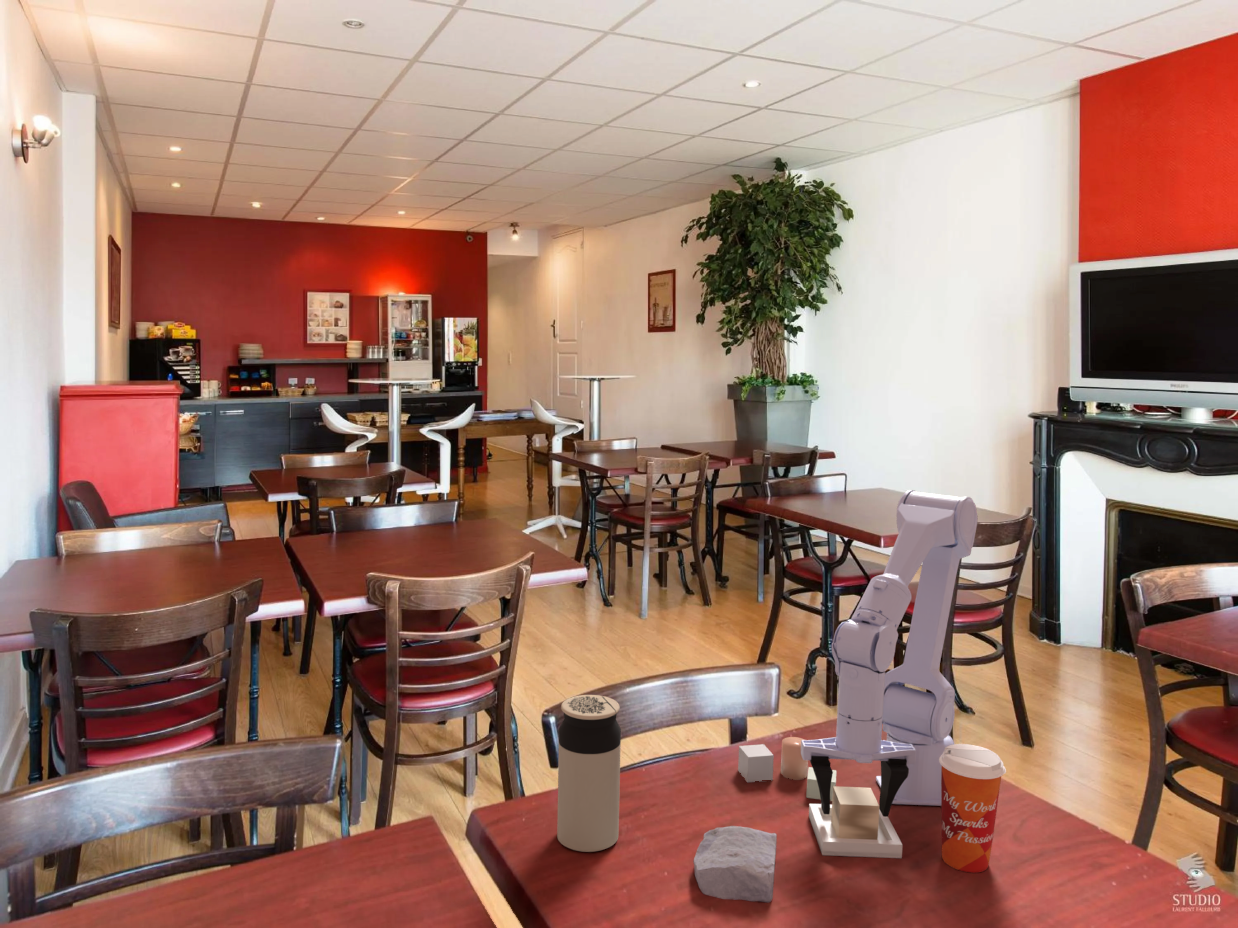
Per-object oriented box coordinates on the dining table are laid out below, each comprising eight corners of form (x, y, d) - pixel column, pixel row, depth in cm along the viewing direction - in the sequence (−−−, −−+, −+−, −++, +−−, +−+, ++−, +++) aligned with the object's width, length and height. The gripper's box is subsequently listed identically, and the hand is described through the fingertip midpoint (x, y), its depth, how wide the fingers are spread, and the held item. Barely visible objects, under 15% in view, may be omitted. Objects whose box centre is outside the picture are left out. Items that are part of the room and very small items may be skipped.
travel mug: (561, 856, 114) (564, 718, 112) (553, 824, 122) (555, 695, 120) (624, 851, 116) (627, 714, 114) (611, 820, 123) (614, 691, 121)
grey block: (762, 768, 140) (763, 744, 140) (772, 780, 136) (773, 755, 136) (738, 770, 139) (739, 745, 139) (747, 782, 136) (748, 757, 135)
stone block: (694, 911, 107) (780, 906, 105) (687, 871, 107) (773, 865, 105) (704, 860, 118) (781, 854, 116) (698, 824, 118) (775, 818, 116)
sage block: (835, 789, 134) (836, 770, 134) (834, 802, 130) (835, 782, 130) (807, 786, 135) (808, 766, 135) (806, 798, 131) (807, 778, 131)
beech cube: (868, 822, 123) (870, 787, 122) (877, 842, 118) (879, 805, 117) (831, 821, 123) (833, 786, 123) (838, 840, 118) (840, 804, 118)
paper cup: (932, 869, 113) (939, 761, 111) (933, 839, 120) (940, 737, 119) (1000, 883, 110) (1008, 773, 109) (997, 851, 118) (1005, 747, 116)
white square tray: (881, 818, 125) (882, 806, 125) (901, 857, 116) (902, 844, 115) (808, 815, 126) (809, 803, 126) (822, 854, 116) (823, 841, 116)
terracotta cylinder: (804, 768, 141) (806, 737, 140) (809, 780, 137) (811, 748, 136) (778, 767, 141) (780, 736, 140) (782, 779, 137) (784, 747, 136)
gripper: (809, 722, 115) (804, 824, 117) (925, 726, 115) (918, 829, 116) (800, 701, 122) (795, 798, 124) (909, 705, 122) (903, 802, 123)
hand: (854, 811), depth 120 cm, fingers open, 7 cm apart
